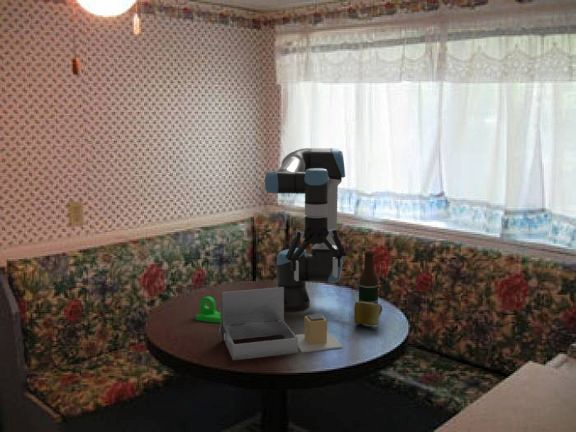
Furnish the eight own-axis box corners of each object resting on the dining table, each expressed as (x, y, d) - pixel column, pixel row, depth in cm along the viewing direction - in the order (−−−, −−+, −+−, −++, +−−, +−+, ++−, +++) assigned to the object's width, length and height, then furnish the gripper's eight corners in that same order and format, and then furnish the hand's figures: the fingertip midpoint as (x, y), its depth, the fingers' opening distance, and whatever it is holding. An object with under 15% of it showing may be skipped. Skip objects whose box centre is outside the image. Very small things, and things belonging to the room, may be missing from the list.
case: (283, 332, 205) (283, 286, 203) (297, 352, 188) (297, 302, 185) (219, 339, 199) (217, 292, 197) (228, 361, 182) (226, 309, 179)
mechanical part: (195, 320, 219) (195, 300, 217) (203, 315, 224) (202, 295, 223) (224, 324, 215) (224, 303, 214) (231, 318, 221) (230, 298, 219)
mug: (364, 322, 202) (364, 295, 206) (347, 327, 211) (347, 300, 215) (392, 327, 208) (391, 300, 212) (375, 332, 216) (374, 305, 220)
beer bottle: (355, 312, 226) (356, 253, 222) (360, 306, 233) (362, 248, 229) (375, 315, 223) (376, 254, 219) (379, 308, 230) (381, 250, 226)
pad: (328, 332, 205) (328, 331, 205) (342, 348, 192) (342, 346, 192) (290, 337, 201) (290, 335, 201) (301, 352, 188) (301, 351, 188)
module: (321, 336, 200) (321, 312, 199) (326, 342, 195) (326, 318, 193) (304, 338, 199) (304, 314, 197) (309, 344, 193) (309, 320, 191)
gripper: (347, 212, 196) (346, 272, 200) (276, 215, 189) (276, 278, 193) (355, 215, 189) (354, 278, 192) (282, 219, 182) (282, 284, 186)
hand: (315, 278), depth 193 cm, fingers open, 13 cm apart
